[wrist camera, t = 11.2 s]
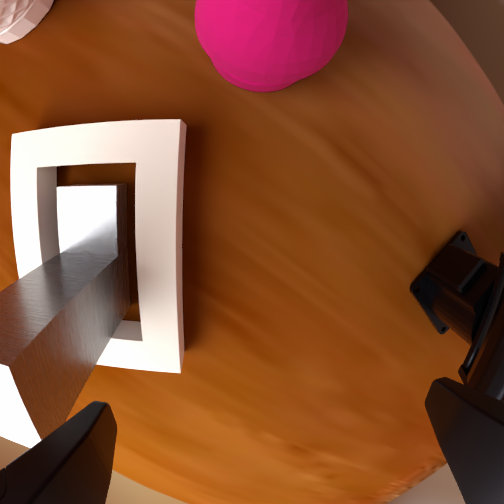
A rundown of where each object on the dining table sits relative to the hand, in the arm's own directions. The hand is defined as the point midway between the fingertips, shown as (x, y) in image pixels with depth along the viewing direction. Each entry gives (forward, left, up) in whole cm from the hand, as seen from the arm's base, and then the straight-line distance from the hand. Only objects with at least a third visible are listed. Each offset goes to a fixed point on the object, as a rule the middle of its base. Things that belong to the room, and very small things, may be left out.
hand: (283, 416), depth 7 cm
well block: (+8, +6, -13) cm, 16 cm away
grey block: (+8, +6, -13) cm, 16 cm away
